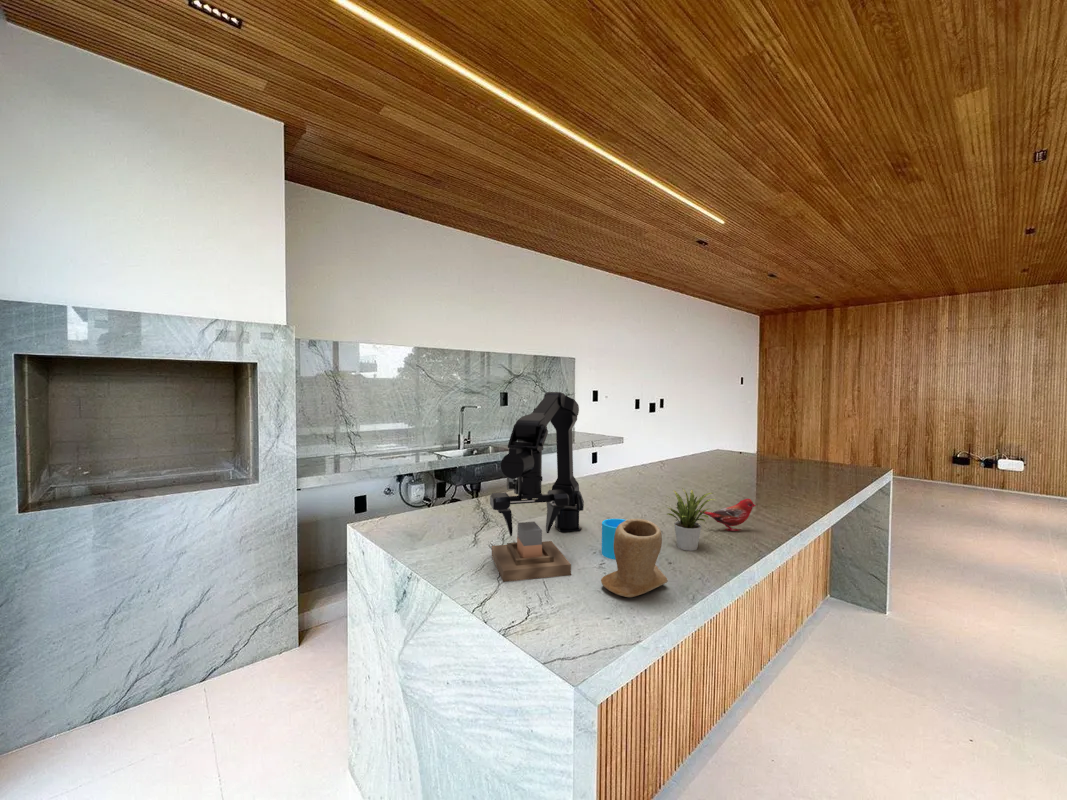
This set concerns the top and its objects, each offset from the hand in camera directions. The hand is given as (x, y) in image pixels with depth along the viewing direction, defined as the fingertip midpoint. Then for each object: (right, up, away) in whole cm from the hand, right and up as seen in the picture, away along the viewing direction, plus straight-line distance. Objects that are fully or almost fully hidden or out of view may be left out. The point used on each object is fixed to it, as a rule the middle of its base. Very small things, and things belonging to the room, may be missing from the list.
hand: (529, 534), depth 113 cm
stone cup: (+24, -9, -12) cm, 28 cm away
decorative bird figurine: (+59, -7, +27) cm, 66 cm away
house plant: (+44, -8, +13) cm, 47 cm away
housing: (0, -5, 0) cm, 5 cm away
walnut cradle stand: (0, -8, 0) cm, 8 cm away
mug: (+25, -8, +9) cm, 27 cm away
